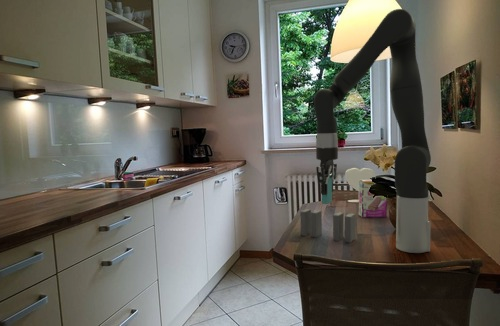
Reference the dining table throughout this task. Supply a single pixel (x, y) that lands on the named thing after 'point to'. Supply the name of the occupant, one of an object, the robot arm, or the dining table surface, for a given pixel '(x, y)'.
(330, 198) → the domino
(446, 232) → the dining table surface
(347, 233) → the domino
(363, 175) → the heart sculpture
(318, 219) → the domino
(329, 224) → the dining table surface
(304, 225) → the domino
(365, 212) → the candy bar box
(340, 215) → the domino
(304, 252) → the dining table surface
